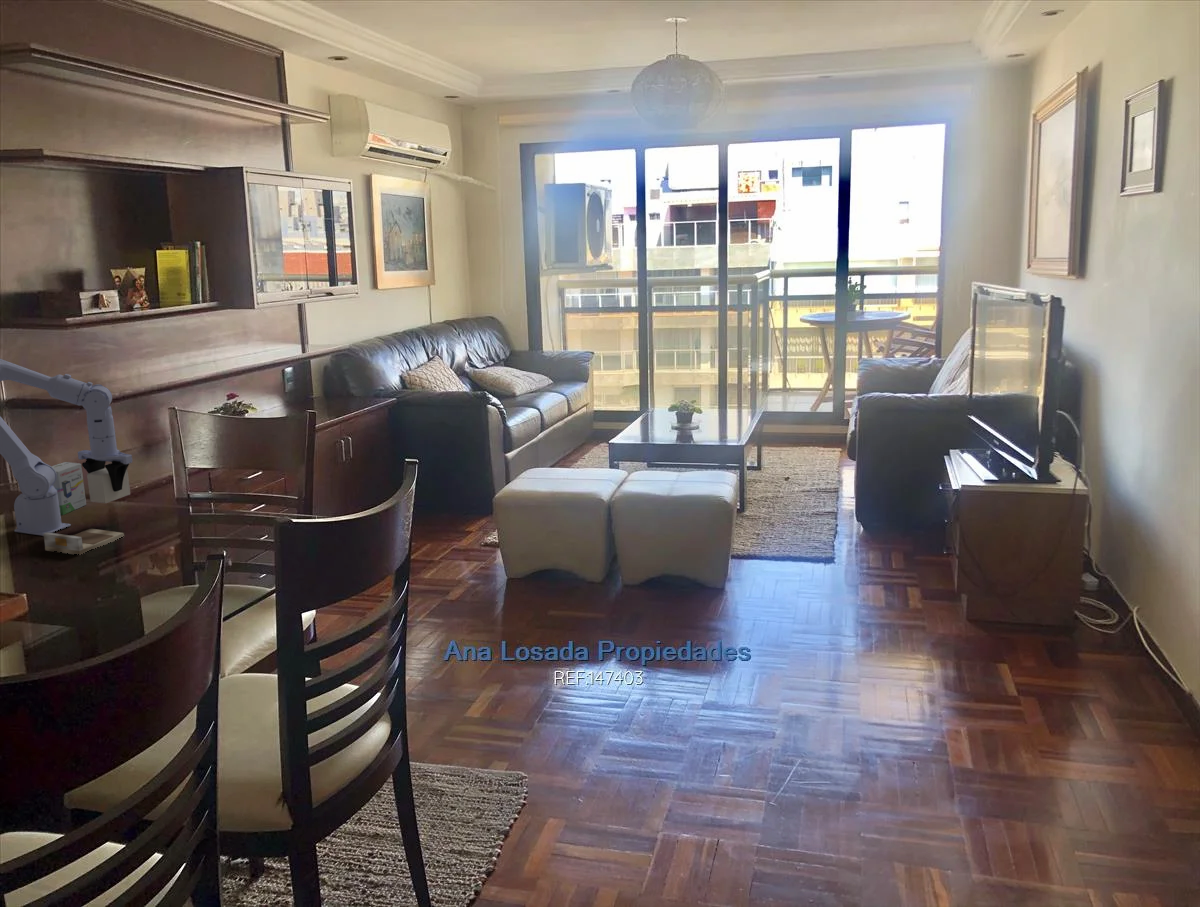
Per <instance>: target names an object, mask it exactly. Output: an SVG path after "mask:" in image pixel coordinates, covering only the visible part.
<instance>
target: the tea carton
mask: <svg viewBox="0 0 1200 907" xmlns="http://www.w3.org/2000/svg"><path fill="white" fill-rule="evenodd" d="M86 477H87V485H88V492H89V502H92V503H100V504H107V503H111V502H113V501H116V500H119V499H121V498H124V497H128V496H130V495H131V489H130V488H131V487H130V478H129V473H128V469H127V470H126V472H125V475H124V479H123V485H122V490H119V491H116V492H115V491H113V488H112V484H111V479H110V476H109V473H108V471H107V469H106V467H105V468H104V469H101V470H98V471H95V472H92V473H88V472H87V473H86Z"/></svg>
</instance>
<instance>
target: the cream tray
mask: <svg viewBox="0 0 1200 907" xmlns="http://www.w3.org/2000/svg"><path fill="white" fill-rule="evenodd" d="M43 535H44V536H43V540H44V550H45V551H47V552H54V551H57V552H56V553H60V552H62V553H61V554H67V553H68V554H69V555H74V554H77V555H76V556H81V554H82V555H84V554H86V553H85V552H87V551H89V550H91V549H94V550H96V549H98V548H97V547H99V548H101V547H103V545H104V546H106V545H109V544H110V542H111V543H113V542H116V541H118V540H120V539H119V538H121V537H123V536H124V537H125V532H120V531H111V530H103V529H96V528H89V529H86V530H83V531H81V532H78V533H75V534H73V535H68V534H61V533H55V532H53V533H48V532H46V533H44V534H43ZM124 537H123V538H124ZM117 539H118V540H117ZM121 539H122V538H121ZM115 540H116V541H115ZM108 543H109V544H108ZM100 546H101V547H100ZM95 548H96V549H95ZM89 552H90V551H89ZM83 553H84V554H83ZM87 553H88V552H87ZM68 554H67V555H68ZM78 554H79V555H78Z"/></svg>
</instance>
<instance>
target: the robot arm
mask: <svg viewBox="0 0 1200 907" xmlns="http://www.w3.org/2000/svg"><path fill="white" fill-rule="evenodd" d="M3 381H11V382H16V383H19V384H24V385H26V386H31V387H34V388H38V389H40V390H41V389H42V390H44V391H46V392H47V393H48V394H49V397H51V398H54V399H57V400H60V401H64V402H66V403H69V404H72V405H76V406H79V407H80V406H81V407H83V408H84V410H85V411H86V425H87V431H88V440H89V447H90V450H88V449H86V450H85V449H82V450H80V451H77V458H78V460H80V461H81V460H85V461H84V462H82V464H81V467H82V468H83V469H85V471H86V472H87V474H88V473H92V472H95V471H98V470H101V469H104V468H106V469H107V471H108V473H109V476H110V479H111V484H112V488H113V491H115V492H116V491H119V490H122V485H123V479H124V475H125V472H126V470H128V468H129V465H130V464H132V463H133V455H132V454H129V453H125V452H121V451H120V449H118V447H117V446H118V445H117V437H116V429H115V428H116V427H115V421H114V416H113V409H112V405H111V403H112V401H113V394H112V391H111V390H110V389H109V388H108V387H106V386H104V385H102V384H93V382H91V381H87V382H84V381H82V380H79V379H75V378H72V375H71V374H69V373H64V375H63V374H60V373H59V374H56V375H54V376H50V375H46V374H45V373H41V372H38V371H35V370H33V369H29V368H26V367H24V366H23V365H22V366H21V365H18V364H15V363H14V362H10V361H7V360H5V359H2V358H0V382H3ZM0 455H1V456H2V458H3V459H4V461H6V462H7V463H8V464H9V466H10V468H11V473H12V474H13V477H14V479H15V480H16V481H17V483H18V487H19V491H20V492H21V493H20V494H18V496H17V497H16V498H15V501H14V503H13V504H14V505H13V508H14V516H15V521H16V528H15V529H14V533H20V534H27V535H36V536H42V537H44V535H43V534H44V533H46V532H48V533H55V531H56V532H58V530H59V531H61V530H63V529H66V527H67V528H69V527H71V525H72V524H71V523H65V522H62V515H60V508H59V501H58V494H57V490H56V489H55V488H54V486H53V484H54V483H55V481H56V478H57V474H56V471H55V470H54V468H53V467H51V465H50V464H47V463H46V462H43V460H42V459H41V458H40V457H39V456H37V455H36V454H34V453H32V452H31V451H30V450H29V449H28V448H27V447H26V445H25V444H24V443H23V441H22V440H21V439H20V438H19V437H18V435H17V434H16V433H15V432H14V431H13V429H12V428H11V427H10V426H9V425H8V423H6V421H5V420H4V419H3V418H2V416H1V415H0ZM106 462H110V463H108V464H106ZM60 529H61V530H60Z"/></svg>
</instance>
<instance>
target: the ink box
mask: <svg viewBox="0 0 1200 907" xmlns="http://www.w3.org/2000/svg"><path fill="white" fill-rule="evenodd" d="M50 466H51V465H50ZM51 467H53V468H54V470H55V471H56V474H57V478H56V481H55V483H54V484H53V486H54V488H55V489H56V490H57V494H58V501H59V508H60V515H61V516H65V515H66V514H69V513H72V512H73V511H76V510H78V509H80V508H82V507H85V506H86V505H87V500H86V492H85V485H84V484H85V482H84V477H83V475H84V474H83V469H82V468H83V466H82V464H81V463H79V462H78V463H77V462H71V461H63V462H62V463H58V464H54V465H52V466H51Z"/></svg>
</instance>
